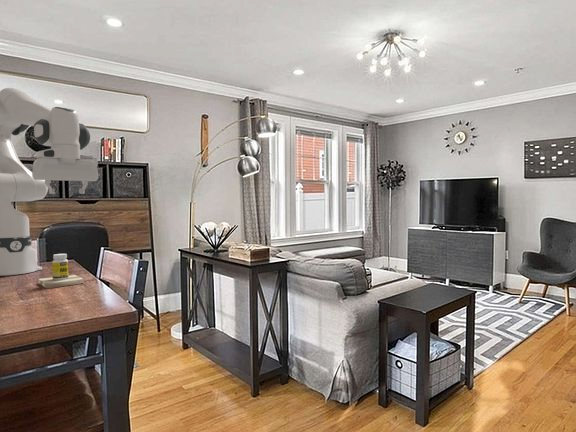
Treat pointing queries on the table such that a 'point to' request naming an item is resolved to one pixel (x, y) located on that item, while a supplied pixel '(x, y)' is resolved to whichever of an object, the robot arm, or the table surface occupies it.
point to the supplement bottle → (59, 267)
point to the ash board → (60, 281)
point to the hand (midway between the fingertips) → (67, 193)
